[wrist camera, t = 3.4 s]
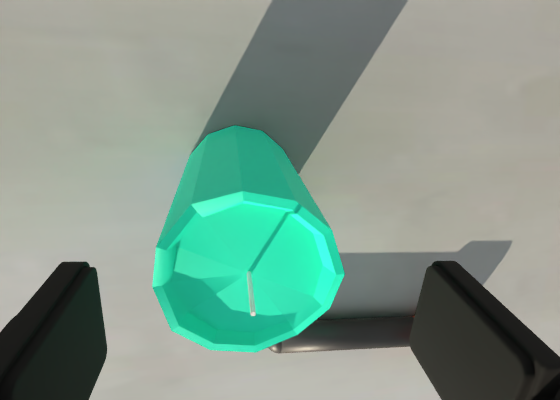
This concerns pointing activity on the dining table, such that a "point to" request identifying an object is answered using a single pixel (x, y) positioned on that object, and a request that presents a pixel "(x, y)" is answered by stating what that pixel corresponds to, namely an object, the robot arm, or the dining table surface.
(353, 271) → the dining table surface
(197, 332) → the candle
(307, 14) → the dining table surface
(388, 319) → the marker
